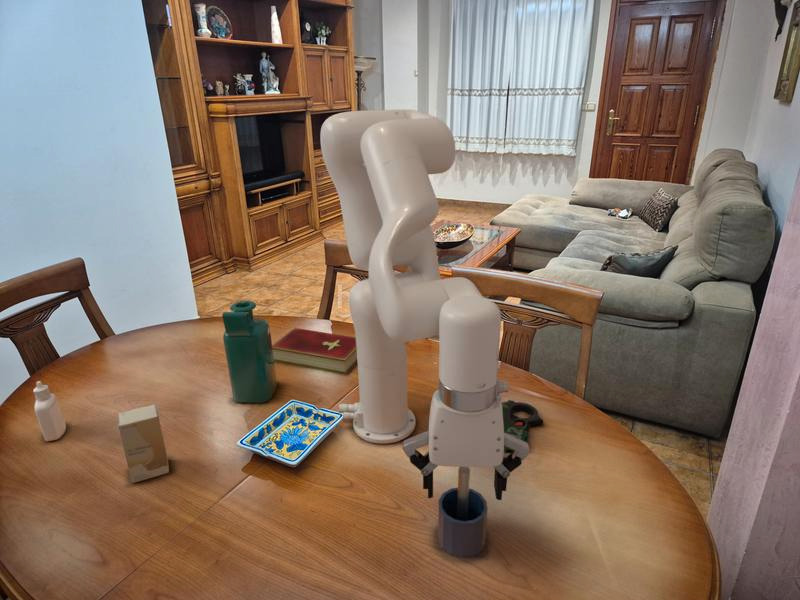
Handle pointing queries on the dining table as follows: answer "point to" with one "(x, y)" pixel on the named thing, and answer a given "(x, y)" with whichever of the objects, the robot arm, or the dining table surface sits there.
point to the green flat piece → (518, 420)
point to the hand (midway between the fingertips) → (463, 492)
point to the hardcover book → (316, 350)
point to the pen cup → (462, 524)
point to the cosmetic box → (143, 443)
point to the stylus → (463, 493)
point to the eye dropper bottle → (48, 413)
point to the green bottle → (249, 354)
